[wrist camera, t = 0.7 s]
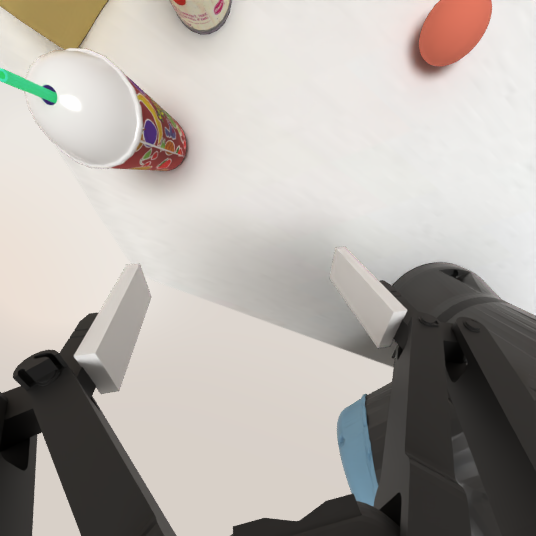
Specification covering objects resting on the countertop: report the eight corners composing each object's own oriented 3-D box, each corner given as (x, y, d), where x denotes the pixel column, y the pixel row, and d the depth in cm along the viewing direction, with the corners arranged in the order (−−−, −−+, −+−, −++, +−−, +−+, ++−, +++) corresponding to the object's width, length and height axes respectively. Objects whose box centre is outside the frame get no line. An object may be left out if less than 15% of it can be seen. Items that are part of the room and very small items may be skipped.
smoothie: (202, 123, 31) (85, 14, 12) (187, 186, 33) (71, 179, 14) (140, 99, 30) (-89, -60, 11) (130, 164, 33) (-71, 127, 14)
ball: (470, 47, 27) (521, 9, 22) (424, 88, 29) (461, 63, 23) (444, -2, 26) (491, -55, 20) (398, 44, 28) (430, 5, 22)
